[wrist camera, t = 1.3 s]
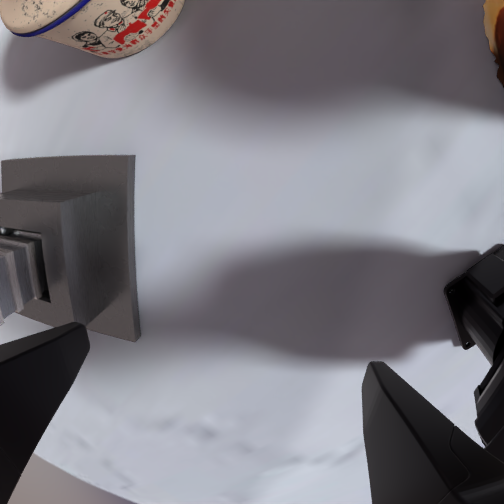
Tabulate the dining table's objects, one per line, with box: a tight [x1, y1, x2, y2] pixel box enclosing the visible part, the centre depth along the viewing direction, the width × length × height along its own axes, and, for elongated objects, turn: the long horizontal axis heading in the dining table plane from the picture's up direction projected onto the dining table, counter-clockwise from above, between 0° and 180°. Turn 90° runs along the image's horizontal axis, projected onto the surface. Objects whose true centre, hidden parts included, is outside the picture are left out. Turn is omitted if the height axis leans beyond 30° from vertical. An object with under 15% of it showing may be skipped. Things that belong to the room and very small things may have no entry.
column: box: [0, 229, 48, 326], centre depth 16 cm, size 5×4×12 cm
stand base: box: [0, 155, 141, 342], centre depth 20 cm, size 14×14×6 cm
